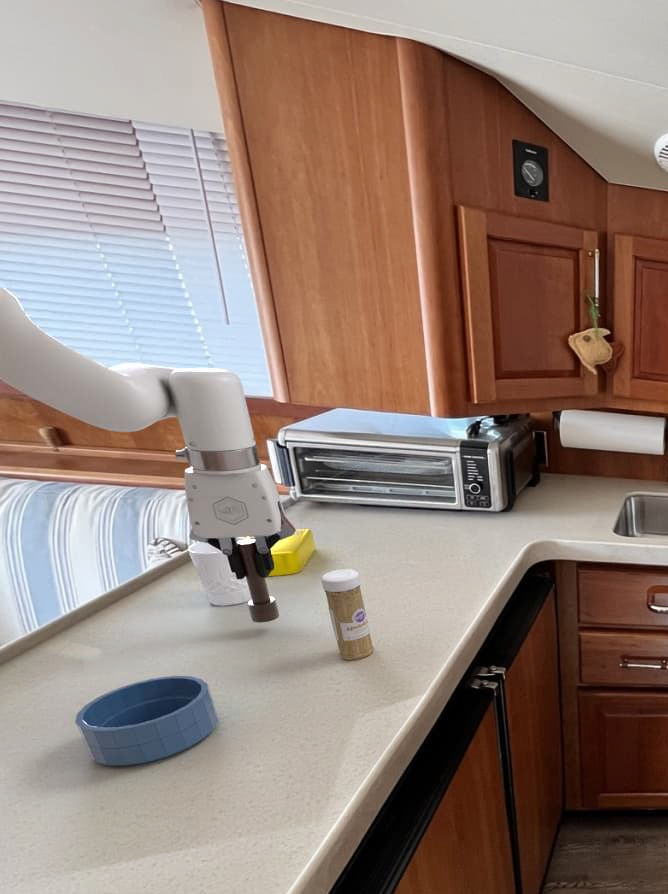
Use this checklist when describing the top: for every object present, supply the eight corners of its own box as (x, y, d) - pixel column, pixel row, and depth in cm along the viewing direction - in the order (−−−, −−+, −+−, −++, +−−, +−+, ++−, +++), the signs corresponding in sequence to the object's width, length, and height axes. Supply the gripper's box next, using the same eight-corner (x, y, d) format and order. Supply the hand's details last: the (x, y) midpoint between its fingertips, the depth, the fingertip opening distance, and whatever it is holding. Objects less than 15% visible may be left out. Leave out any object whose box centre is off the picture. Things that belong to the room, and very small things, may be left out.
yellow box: (198, 582, 115) (191, 558, 113) (227, 552, 128) (221, 530, 126) (300, 574, 121) (294, 551, 119) (318, 546, 134) (313, 525, 132)
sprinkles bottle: (363, 661, 96) (346, 581, 91) (332, 660, 96) (313, 579, 91) (380, 646, 100) (364, 569, 95) (350, 645, 100) (333, 567, 95)
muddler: (248, 623, 99) (228, 546, 94) (255, 614, 102) (236, 538, 97) (276, 621, 100) (256, 545, 95) (282, 612, 103) (263, 537, 98)
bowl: (71, 778, 71) (52, 738, 69) (120, 720, 80) (105, 683, 78) (200, 758, 75) (186, 719, 73) (232, 705, 85) (221, 669, 82)
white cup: (239, 585, 115) (224, 534, 111) (275, 592, 114) (261, 540, 110) (192, 603, 108) (174, 549, 104) (230, 610, 107) (214, 556, 103)
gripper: (139, 465, 85) (177, 589, 92) (286, 464, 91) (312, 580, 98) (163, 452, 91) (197, 569, 98) (300, 452, 98) (323, 562, 104)
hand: (254, 574), depth 98 cm, fingers closed on muddler, 2 cm apart
